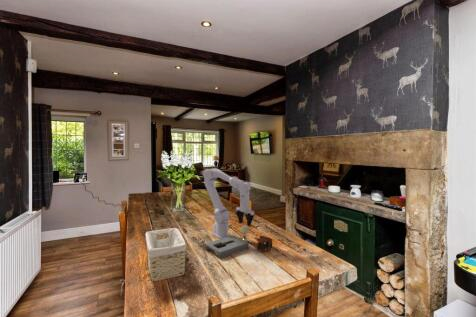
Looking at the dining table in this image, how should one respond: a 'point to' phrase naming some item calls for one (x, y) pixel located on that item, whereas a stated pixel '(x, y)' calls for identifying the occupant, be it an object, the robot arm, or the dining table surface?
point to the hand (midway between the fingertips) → (245, 224)
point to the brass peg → (245, 232)
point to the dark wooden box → (263, 246)
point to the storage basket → (165, 254)
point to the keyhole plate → (227, 246)
